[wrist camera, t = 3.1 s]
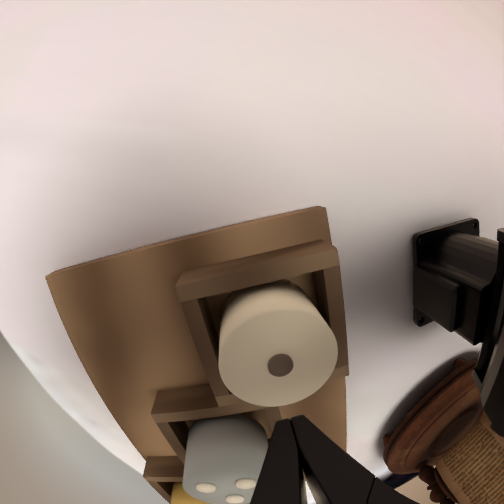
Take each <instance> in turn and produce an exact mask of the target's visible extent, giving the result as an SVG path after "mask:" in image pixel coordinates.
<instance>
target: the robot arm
mask: <svg viewBox="0 0 504 504" xmlns="http://www.w3.org/2000/svg"><path fill="white" fill-rule="evenodd" d="M473 224H474V226H473ZM420 238H421V243H420V244H419V240H420ZM497 241H498V242H497ZM497 241H494V240H490V239H487V238H483V237H480V236H479V221H478V220H477V219H475V218H469V219H466V220H462V221H459V222H455V223H452V224H448V225H444V226H441V227H437V228H433V229H430V230H426V231H422V232H419V233H416V234H415V235H414V237H413V241H412V244H413V263H414V270H413V305H414V318H413V320H414V323H415V324H416V325H417V326H419V327H420V326H423V325H425V324H428V323H430V322H432V321H436V322H437V323H438V324H440V325H441V326H443V327H444V328H445V329H447V330H448V331H449V332H453V331H455V332H456V333H458V334H459V335H460V336H462V337H463V338H464V339H466V340H467V341H469V342H470V343H471V344H473V345H477V344H478V343H480V342H481V343H482V347H481V351H480V354H479V358H478V361H477V364H476V367H474V370H473V373H472V378H473V380H474V382H475V384H476V386H477V388H478V390H479V392H480V397H481V402H482V406H483V410H484V411H485V413H486V414H487V416H488V418H489V419H490V421H491V423H490V428H491V429H492V430H493V431H494V432H496V433H497V434H498V435H499V436H501V437H504V228H501V229H498V230H497ZM421 317H422V318H421ZM420 318H421V319H420ZM303 473H304V474H303ZM304 476H305V479H306V481H307V484H308V486H309V488H310V490H311V492H312V495H313V497H314V499H315V501H316V503H317V504H419V503H417V502H415V501H413V500H411V499H409V498H407V497H405V496H404V495H402V494H400V493H398V492H397V491H395V490H394V489H393V488H391V487H390V486H388V485H387V484H385V483H384V482H383V481H381V480H380V479H379V478H377V477H376V478H375V475H373V474H372V473H371V472H370V471H368V470H367V469H366V468H365V467H363V466H362V465H361V464H360V463H358V462H357V461H356V460H355V459H354V458H352V457H351V456H350V455H349V454H348V453H346V452H345V451H344V450H343V449H342V448H341V447H339V446H338V445H337V444H336V443H335V442H334V441H332V440H331V439H330V438H329V437H328V436H327V435H326V434H325V433H323V432H322V431H321V430H320V429H319V428H318V427H317V426H316V425H315V424H313V423H312V422H311V421H310V420H309V419H308V418H307V417H306V416H305V415H303V414H301V415H297V416H293V417H291V418H290V419H289V418H285V419H281V420H277V421H276V422H275V425H274V429H273V432H272V436H271V439H270V442H269V446H268V449H267V452H266V455H265V459H264V462H263V465H262V468H261V471H260V474H259V477H258V480H257V484H256V486H255V489H254V492H253V495H252V498H251V501H250V504H307V496H306V486H305V479H304Z"/></svg>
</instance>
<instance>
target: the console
mask: <svg viewBox="0 0 504 504" xmlns="http://www.w3.org/2000/svg"><path fill="white" fill-rule="evenodd" d="M45 277H46V280H47V283H48V286H49V289H50V292H51V295H52V297H53V300H54V303H55V305H56V308H57V310H58V313H59V315H60V317H61V320H62V322H63V325H64V327H65V329H66V331H67V334H68V336H69V338H70V340H71V342H72V344H73V346H74V349H75V351H76V353H77V355H78V357H79V359H80V361H81V362H82V364H83V366H84V368H85V370H86V372H87V374H88V376H89V377H90V379H91V381H92V383H93V384H94V386H95V388H96V390H97V391H98V393H99V395H100V396H101V398H102V400H103V401H104V403H105V404H106V406H107V408H108V409H109V411H110V412H111V414H112V415H113V417H114V418H115V420H116V421H117V423H118V424H119V426H120V427H121V429H122V430H123V431H124V433H125V434H126V436H127V437H128V438H129V440H130V441H131V442H132V444H133V445H134V446H135V448H136V449H137V450H138V452H139V453H140V454H141V455H142V457H143V458H144V459H145V460H146V465H145V470H144V474H143V477H144V478H145V479H146V480H147V481H148V482H149V484H150V485H151V486H152V487H153V488H154V489H155V490H156V491H157V492H158V493H159V494H160V495H161V496H162V497H163V498H165V500H167V501H168V502H169V503H170V504H171V496H172V488H173V484H174V483H175V482H183V474H184V465H185V456H186V448H187V439H188V432H189V429H190V427H191V426H192V425H193V424H194V423H195V422H196V421H197V420H199V419H204V418H212V417H219V416H225V415H232V414H239V415H243V416H247V417H249V418H252V419H254V420H256V421H257V422H259V423H260V424H261V425H262V426H263V427H264V429H265V431H266V435H267V441H268V446H269V442H270V439H271V436H272V432H273V429H274V425H275V422H276V421H277V420H281V419H285V418H289V419H290V418H291V417H293V416H297V415H301V414H303V415H305V416H306V417H307V418H308V419H309V420H310V421H311V422H312V423H313V424H315V425H316V426H317V427H318V428H319V429H320V430H321V431H322V432H323V433H325V434H326V435H327V436H328V437H329V438H330V439H331V440H332V441H334V442H335V443H336V444H337V445H338V446H339V447H341V448H342V449H343V450H344V451H345V452H346V435H347V432H346V386H345V376H348V375H349V368H348V350H347V335H346V323H345V311H344V301H343V291H342V283H341V274H340V266H339V259H338V251H337V248H336V247H334V246H332V243H331V236H330V230H329V224H328V218H327V212H326V208H325V207H321V206H316V207H311V208H306V209H302V210H297V211H292V212H288V213H283V214H278V215H274V216H269V217H265V218H260V219H256V220H251V221H247V222H243V223H238V224H234V225H230V226H225V227H221V228H217V229H212V230H208V231H204V232H200V233H196V234H192V235H188V236H184V237H180V238H176V239H172V240H168V241H164V242H160V243H156V244H152V245H148V246H144V247H140V248H136V249H133V250H129V251H125V252H121V253H118V254H114V255H110V256H106V257H103V258H99V259H96V260H92V261H88V262H85V263H81V264H78V265H74V266H71V267H67V268H64V269H60V270H57V271H54V272H52V273H51V274H49V275H47V276H45ZM281 279H287V280H290V281H292V282H294V283H295V284H297V285H298V286H299V287H300V288H301V289H302V290H303V291H304V292H305V293H306V295H307V296H308V297H309V299H310V300H311V302H312V303H313V305H314V306H315V307H316V309H317V310H318V312H319V313H320V315H321V316H322V317H323V319H324V320H325V322H326V323H327V325H328V326H329V327H330V329H331V330H332V332H333V334H334V336H335V338H336V341H337V347H338V356H337V362H336V365H335V368H334V370H333V372H332V374H331V376H330V377H329V379H328V380H327V381H326V382H325V384H324V385H323V386H322V387H321V388H320V389H318V390H317V391H316V392H315V393H313V394H312V395H310V396H309V397H307V398H305V399H303V400H301V401H298V402H296V403H292V404H289V405H284V406H275V407H267V406H259V405H254V404H251V403H248V402H246V401H243V400H241V399H240V398H238V397H237V396H235V395H234V394H233V393H232V392H230V390H229V389H228V388H227V387H226V386H225V384H224V383H223V381H222V378H221V376H220V372H219V365H218V363H219V341H220V321H221V312H222V308H223V306H224V303H225V301H226V300H227V298H228V297H229V295H230V294H231V293H232V292H233V291H234V290H239V289H243V288H247V287H252V286H256V285H260V284H265V283H269V282H273V281H277V280H281ZM303 474H304V473H303ZM304 479H305V476H304ZM305 481H306V479H305ZM249 504H250V503H249Z"/></svg>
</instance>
